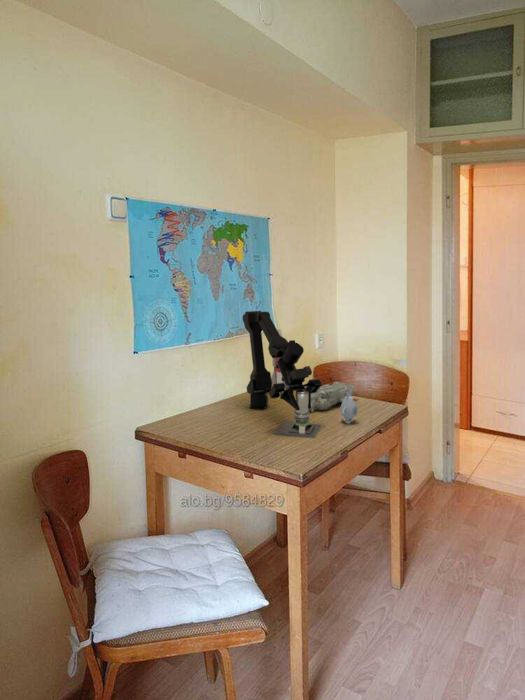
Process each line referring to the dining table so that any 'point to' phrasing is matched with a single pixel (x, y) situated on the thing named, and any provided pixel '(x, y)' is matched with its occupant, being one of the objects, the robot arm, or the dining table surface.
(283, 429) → the stand base
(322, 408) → the stone
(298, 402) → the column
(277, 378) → the toy rocket
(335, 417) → the dining table surface
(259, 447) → the dining table surface
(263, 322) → the robot arm
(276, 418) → the dining table surface
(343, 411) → the toy figure
